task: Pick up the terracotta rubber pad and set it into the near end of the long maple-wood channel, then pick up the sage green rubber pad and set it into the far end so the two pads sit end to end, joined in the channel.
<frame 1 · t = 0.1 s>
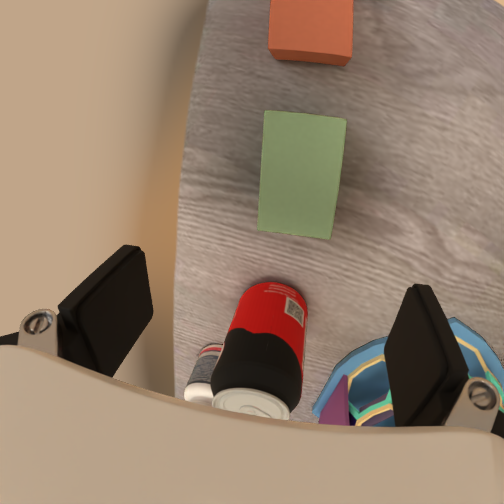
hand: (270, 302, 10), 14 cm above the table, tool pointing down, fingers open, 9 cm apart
terracotta pad: (312, 14, 16), on the table
pill bottle: (223, 358, 33), on the table
beverage can 2: (274, 303, 28), on the table
sage pad: (301, 165, 22), on the table
stadium: (426, 405, 32), on the table
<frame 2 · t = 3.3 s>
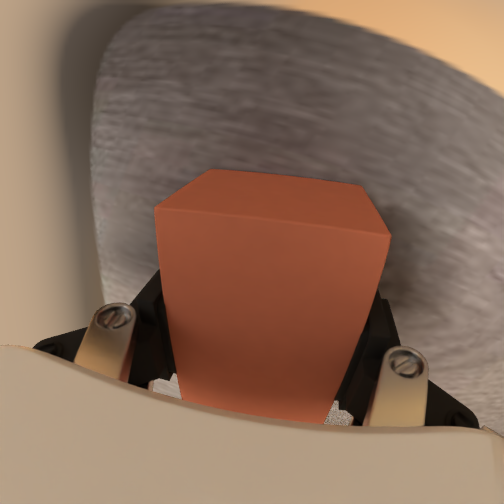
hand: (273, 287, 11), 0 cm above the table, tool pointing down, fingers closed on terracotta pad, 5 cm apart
terracotta pad: (274, 281, 11), on the table, touching gripper
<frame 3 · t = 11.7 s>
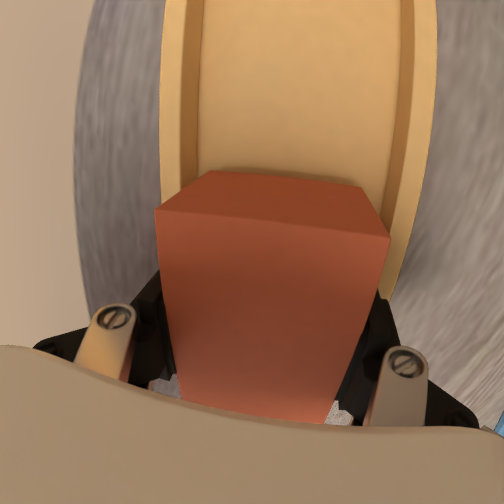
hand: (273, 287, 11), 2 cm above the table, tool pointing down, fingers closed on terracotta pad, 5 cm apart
terracotta pad: (274, 282, 11), point 2 cm above the table, touching gripper
channel: (292, 157, 10), on the table
when the fingers open (2 cm above the table, at t = 16.4 s): terracotta pad drops 1 cm, resting on channel.
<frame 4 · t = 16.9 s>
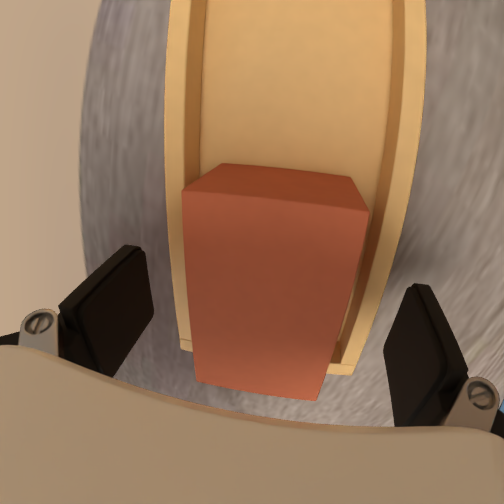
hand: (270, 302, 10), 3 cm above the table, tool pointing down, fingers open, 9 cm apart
terracotta pad: (276, 261, 13), resting on channel
channel: (290, 157, 11), on the table
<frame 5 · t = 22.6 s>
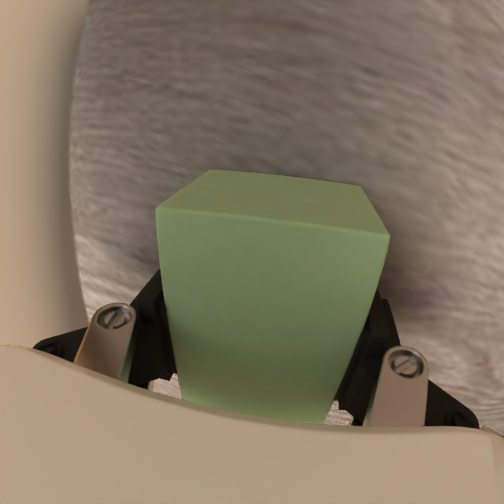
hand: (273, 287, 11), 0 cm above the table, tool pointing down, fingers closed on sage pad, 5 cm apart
sage pad: (274, 281, 11), on the table, touching gripper
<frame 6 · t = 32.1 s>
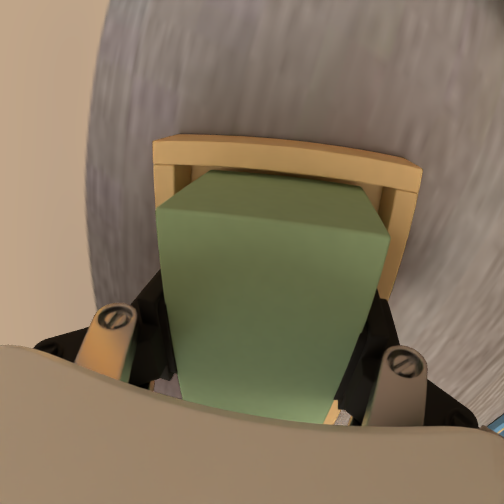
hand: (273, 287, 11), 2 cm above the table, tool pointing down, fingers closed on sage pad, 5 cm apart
sage pad: (275, 281, 11), point 1 cm above the table, touching gripper
channel: (269, 338, 14), on the table
when the fingers open (2 cm above the table, at t = 36.3 s): sage pad drops 1 cm, resting on channel.
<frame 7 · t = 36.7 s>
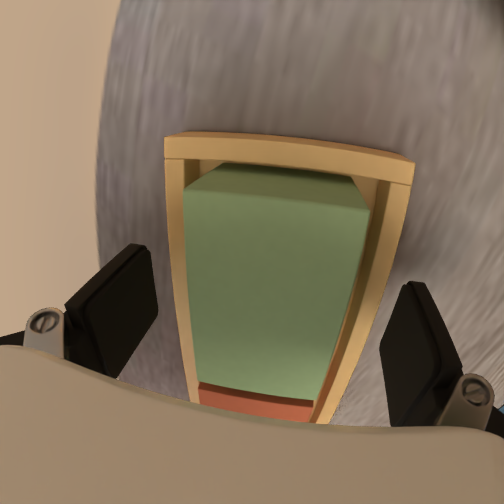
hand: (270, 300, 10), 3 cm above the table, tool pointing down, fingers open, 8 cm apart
terracotta pad: (262, 383, 17), resting on channel
sage pad: (277, 260, 13), resting on channel
channel: (272, 327, 15), on the table
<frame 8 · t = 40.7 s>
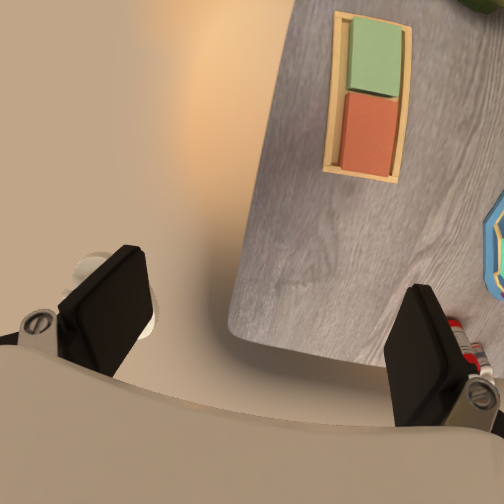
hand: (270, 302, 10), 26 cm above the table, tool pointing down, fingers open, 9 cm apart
terracotta pad: (363, 132, 30), resting on channel
pill bottle: (469, 352, 41), on the table
beverage can 2: (443, 330, 40), on the table
sage pad: (369, 61, 26), resting on channel
channel: (367, 95, 28), on the table
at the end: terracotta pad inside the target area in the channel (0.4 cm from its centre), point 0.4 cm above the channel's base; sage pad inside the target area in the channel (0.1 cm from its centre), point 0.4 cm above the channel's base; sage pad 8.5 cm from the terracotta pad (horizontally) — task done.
